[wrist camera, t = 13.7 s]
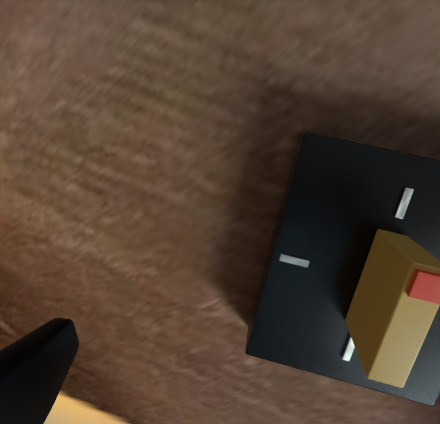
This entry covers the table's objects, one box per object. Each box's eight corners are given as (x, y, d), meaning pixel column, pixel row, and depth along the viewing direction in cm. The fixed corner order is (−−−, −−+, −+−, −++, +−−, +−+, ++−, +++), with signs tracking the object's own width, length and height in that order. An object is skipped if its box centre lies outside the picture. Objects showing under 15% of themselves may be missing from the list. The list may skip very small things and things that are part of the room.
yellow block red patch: (372, 328, 16) (405, 394, 12) (344, 320, 16) (368, 383, 12) (408, 235, 15) (459, 275, 11) (377, 228, 15) (416, 264, 11)
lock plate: (413, 373, 19) (435, 410, 17) (247, 327, 20) (244, 356, 18) (502, 174, 16) (545, 183, 14) (300, 131, 17) (305, 131, 14)
